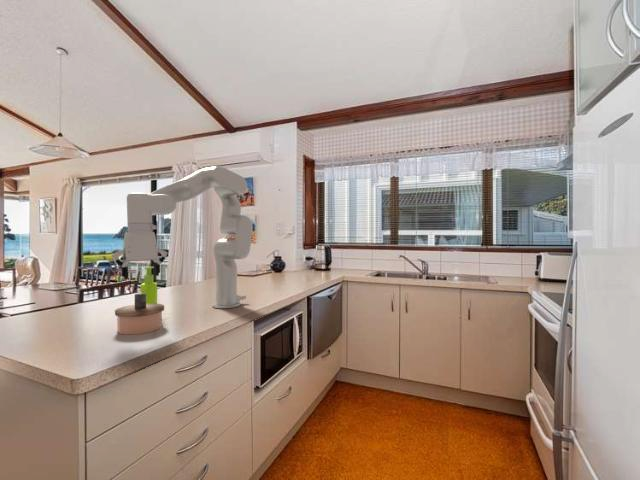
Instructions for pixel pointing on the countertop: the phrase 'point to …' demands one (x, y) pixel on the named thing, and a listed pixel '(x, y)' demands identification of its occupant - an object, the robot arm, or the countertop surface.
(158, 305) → the walnut lid
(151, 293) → the soap dispenser
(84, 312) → the countertop surface
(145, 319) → the terracotta bowl
